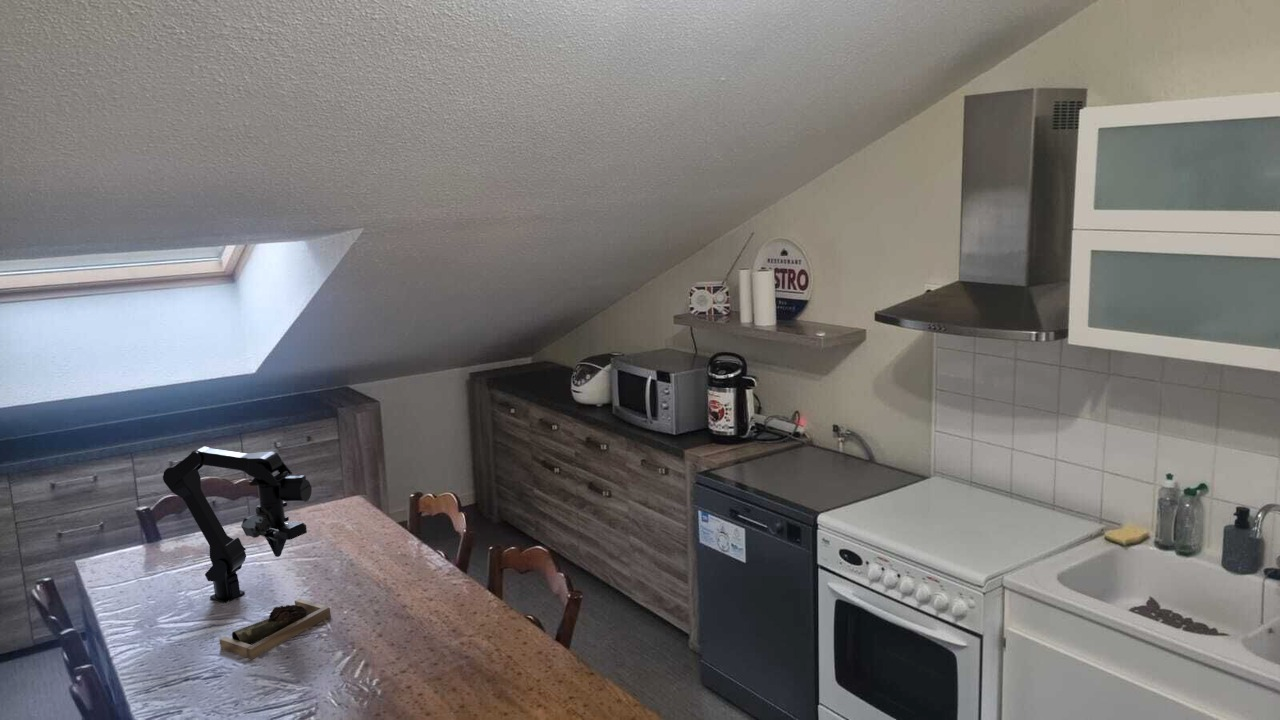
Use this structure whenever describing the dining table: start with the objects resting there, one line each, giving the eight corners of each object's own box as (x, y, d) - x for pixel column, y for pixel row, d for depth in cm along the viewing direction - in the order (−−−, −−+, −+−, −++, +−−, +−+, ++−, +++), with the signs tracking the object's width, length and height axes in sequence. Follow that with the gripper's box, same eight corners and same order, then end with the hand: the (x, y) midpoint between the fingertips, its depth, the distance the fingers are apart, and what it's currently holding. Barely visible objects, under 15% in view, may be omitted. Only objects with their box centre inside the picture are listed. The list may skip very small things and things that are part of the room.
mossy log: (241, 652, 227) (238, 630, 226) (230, 643, 232) (226, 622, 231) (311, 625, 239) (308, 604, 238) (299, 617, 244) (296, 597, 243)
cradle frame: (220, 648, 229) (219, 639, 228) (300, 607, 249) (299, 598, 249) (252, 659, 223) (250, 649, 223) (330, 615, 244) (329, 606, 243)
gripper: (221, 505, 247) (228, 561, 250) (269, 516, 238) (276, 574, 241) (257, 491, 257) (264, 546, 260) (305, 502, 247) (311, 558, 250)
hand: (277, 556), depth 252 cm, fingers closed
